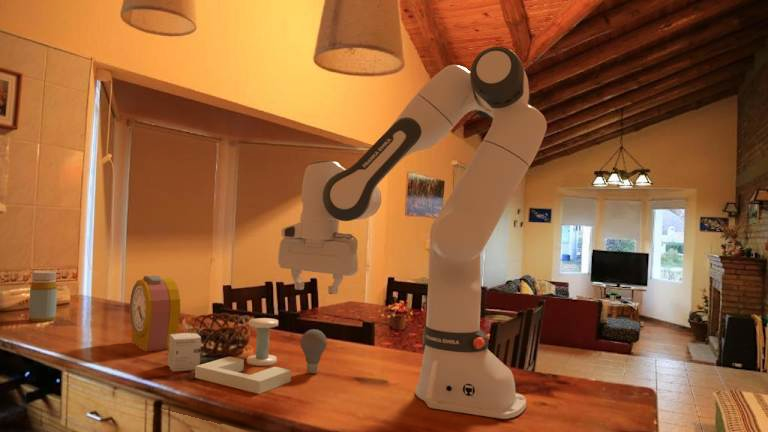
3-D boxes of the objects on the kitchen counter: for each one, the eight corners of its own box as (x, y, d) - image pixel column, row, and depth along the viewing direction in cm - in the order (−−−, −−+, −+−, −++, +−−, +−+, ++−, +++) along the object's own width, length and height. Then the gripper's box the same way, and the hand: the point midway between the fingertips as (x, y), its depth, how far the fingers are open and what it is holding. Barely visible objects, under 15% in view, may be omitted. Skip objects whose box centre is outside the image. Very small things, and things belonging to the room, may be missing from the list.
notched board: (290, 381, 115) (291, 370, 115) (259, 393, 107) (259, 381, 107) (228, 367, 124) (229, 356, 124) (195, 377, 115) (195, 366, 115)
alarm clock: (127, 341, 144) (130, 273, 144) (158, 337, 149) (161, 272, 149) (145, 353, 132) (148, 279, 132) (178, 349, 138) (181, 278, 138)
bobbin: (282, 361, 131) (284, 320, 131) (263, 367, 125) (265, 325, 125) (260, 356, 134) (262, 317, 134) (240, 362, 128) (242, 321, 128)
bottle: (60, 320, 165) (62, 272, 165) (35, 323, 159) (38, 273, 159) (48, 317, 169) (50, 270, 169) (24, 320, 163) (26, 271, 163)
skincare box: (171, 372, 118) (173, 339, 118) (167, 365, 123) (169, 333, 123) (200, 369, 121) (201, 337, 121) (194, 362, 127) (196, 331, 127)
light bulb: (300, 377, 119) (302, 332, 119) (297, 369, 125) (299, 326, 125) (327, 376, 120) (329, 332, 120) (323, 368, 126) (325, 326, 126)
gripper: (364, 234, 121) (361, 295, 120) (292, 229, 130) (289, 285, 130) (350, 234, 115) (346, 298, 115) (275, 228, 125) (272, 288, 125)
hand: (315, 291), depth 123 cm, fingers open, 8 cm apart
